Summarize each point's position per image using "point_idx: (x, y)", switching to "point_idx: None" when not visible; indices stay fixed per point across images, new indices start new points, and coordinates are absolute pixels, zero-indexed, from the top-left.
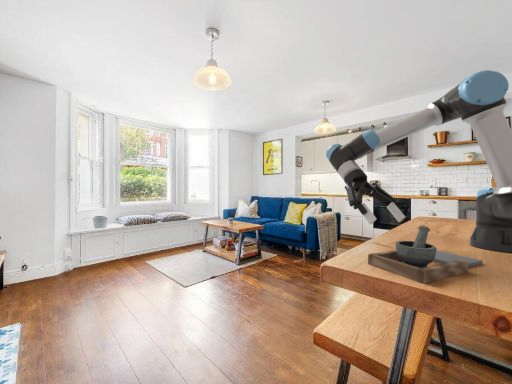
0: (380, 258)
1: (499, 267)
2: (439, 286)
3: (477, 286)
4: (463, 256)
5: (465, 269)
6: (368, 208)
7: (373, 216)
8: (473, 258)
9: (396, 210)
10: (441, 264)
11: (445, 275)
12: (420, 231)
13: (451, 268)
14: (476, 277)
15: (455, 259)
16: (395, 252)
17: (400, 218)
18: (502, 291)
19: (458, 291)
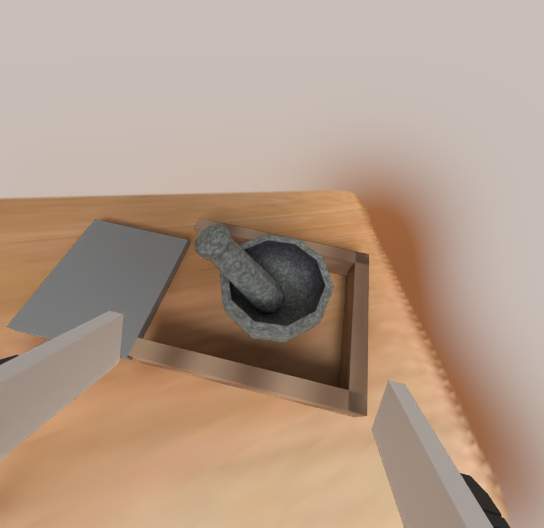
0: (366, 362)
1: (114, 203)
2: None
3: (287, 215)
4: (75, 249)
5: None
6: (442, 473)
7: (412, 399)
8: (86, 232)
9: (61, 363)
10: None
11: None
12: (235, 252)
13: None
14: (232, 221)
15: (130, 256)
16: (245, 364)
17: (115, 342)
18: (280, 195)
19: (340, 228)
